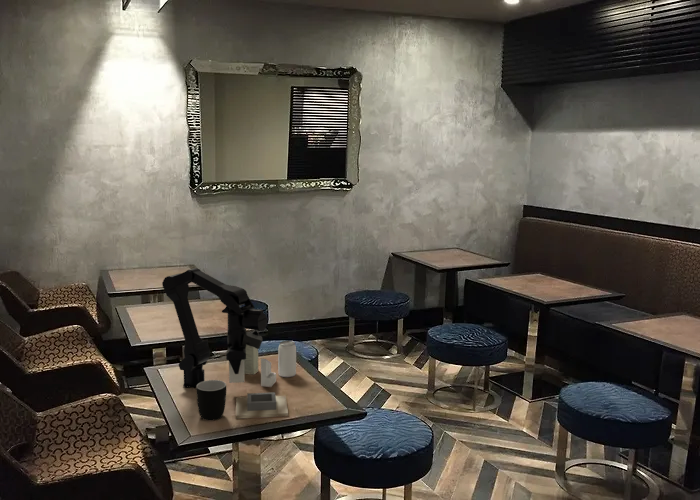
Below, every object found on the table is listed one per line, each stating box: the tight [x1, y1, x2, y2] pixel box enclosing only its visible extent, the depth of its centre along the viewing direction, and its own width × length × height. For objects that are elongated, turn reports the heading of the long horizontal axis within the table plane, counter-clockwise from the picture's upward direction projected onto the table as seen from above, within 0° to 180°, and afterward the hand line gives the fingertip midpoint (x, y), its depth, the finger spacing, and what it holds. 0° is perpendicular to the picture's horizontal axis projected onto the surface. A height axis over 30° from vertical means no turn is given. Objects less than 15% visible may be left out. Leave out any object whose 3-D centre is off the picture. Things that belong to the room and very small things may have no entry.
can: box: [277, 340, 297, 378], centre depth 227 cm, size 6×6×12 cm
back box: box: [246, 392, 277, 411], centre depth 197 cm, size 9×8×2 cm
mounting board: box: [235, 395, 289, 420], centre depth 198 cm, size 16×14×1 cm
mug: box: [195, 379, 227, 422], centre depth 191 cm, size 12×9×10 cm
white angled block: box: [260, 357, 277, 388], centre depth 217 cm, size 4×10×9 cm, turn 168°
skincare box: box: [244, 344, 259, 376], centre depth 228 cm, size 6×4×12 cm
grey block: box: [228, 360, 245, 384], centre depth 208 cm, size 5×4×9 cm
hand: (236, 371), depth 208 cm, fingers closed on grey block, 4 cm apart
